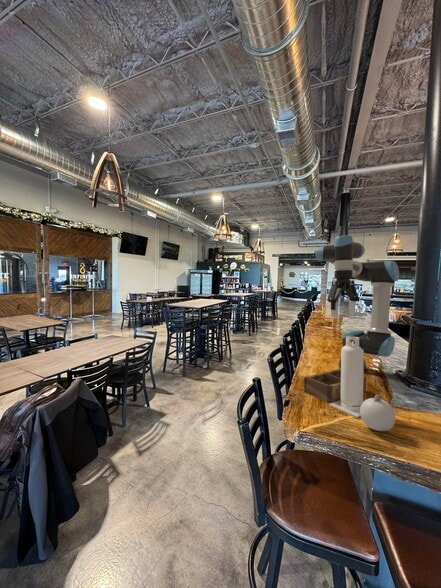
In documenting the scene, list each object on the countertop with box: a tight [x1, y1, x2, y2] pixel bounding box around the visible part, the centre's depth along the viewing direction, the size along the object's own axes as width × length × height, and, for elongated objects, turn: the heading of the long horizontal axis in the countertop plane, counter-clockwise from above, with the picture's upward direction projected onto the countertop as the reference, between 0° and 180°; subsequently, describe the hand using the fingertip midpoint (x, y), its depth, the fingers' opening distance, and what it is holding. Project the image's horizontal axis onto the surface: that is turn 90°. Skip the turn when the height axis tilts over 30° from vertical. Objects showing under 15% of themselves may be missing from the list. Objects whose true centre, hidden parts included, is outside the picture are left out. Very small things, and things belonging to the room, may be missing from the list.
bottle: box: [340, 336, 365, 411], centre depth 106 cm, size 8×8×28 cm
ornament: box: [360, 394, 397, 432], centre depth 90 cm, size 10×10×12 cm
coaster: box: [328, 400, 361, 419], centre depth 106 cm, size 12×12×1 cm
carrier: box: [303, 368, 367, 404], centre depth 122 cm, size 26×14×7 cm, turn 120°
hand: (343, 315), depth 121 cm, fingers open, 13 cm apart
